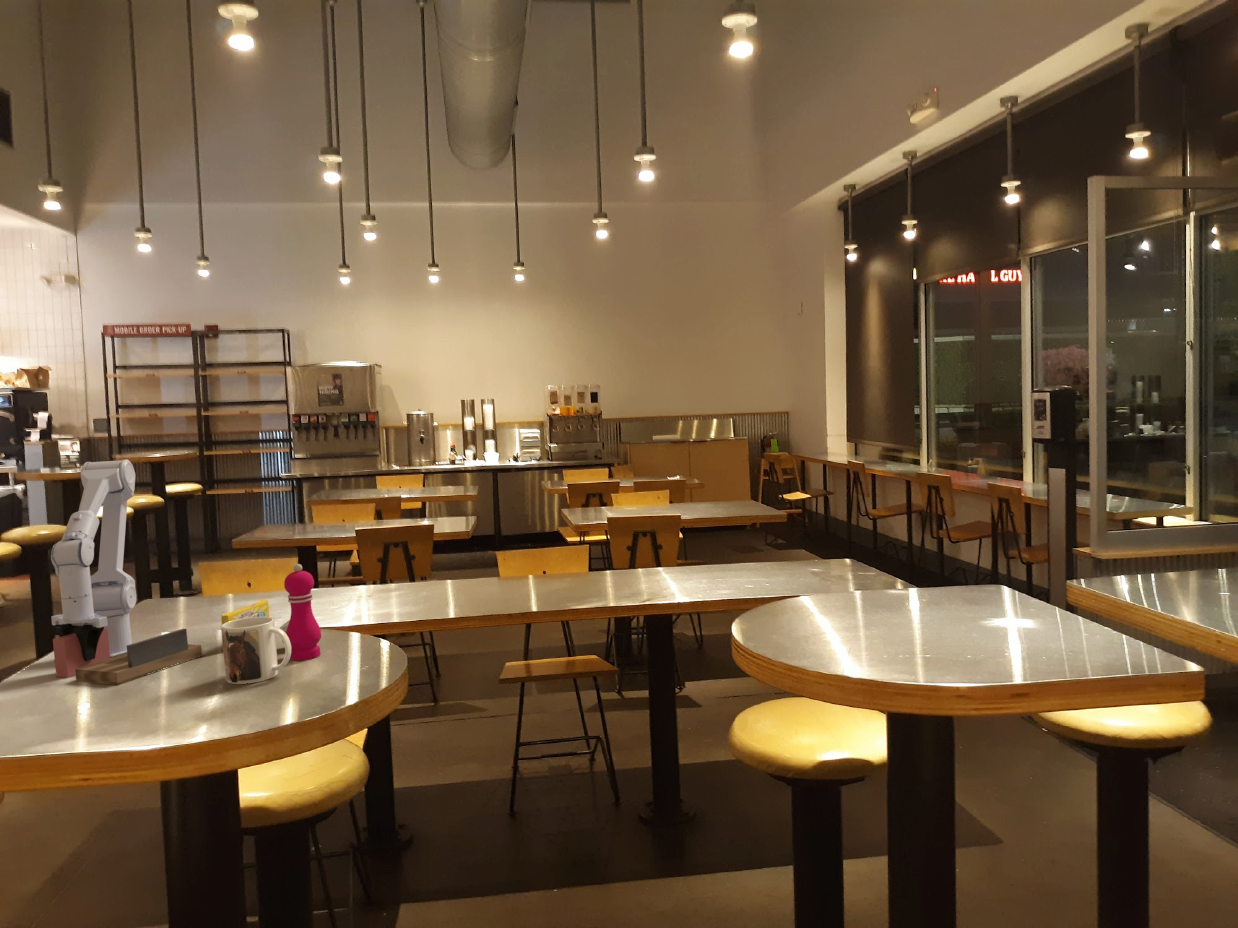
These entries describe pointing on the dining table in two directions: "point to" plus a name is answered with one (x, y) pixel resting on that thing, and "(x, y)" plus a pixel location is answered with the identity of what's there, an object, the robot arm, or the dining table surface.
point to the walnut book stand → (120, 673)
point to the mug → (252, 649)
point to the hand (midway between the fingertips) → (82, 659)
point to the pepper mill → (302, 616)
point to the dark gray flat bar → (157, 647)
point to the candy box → (247, 612)
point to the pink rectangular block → (76, 653)
